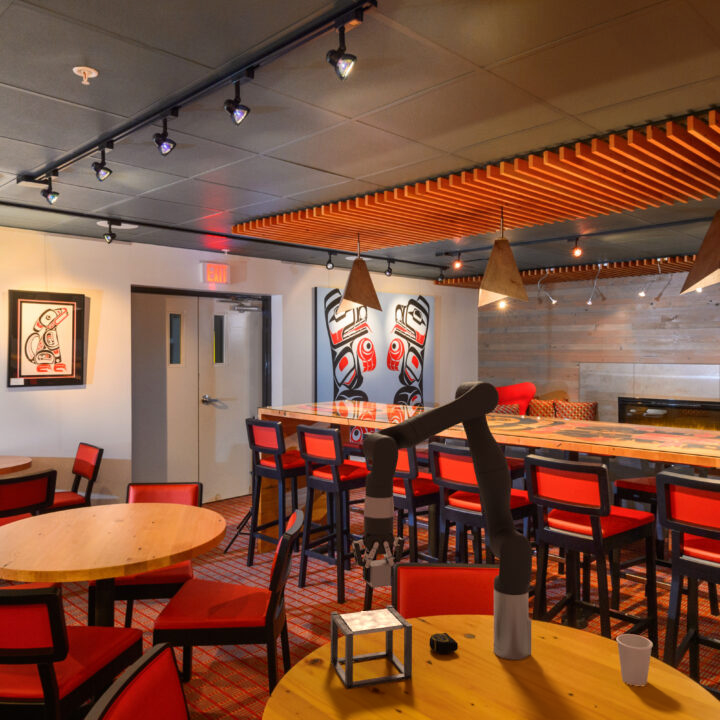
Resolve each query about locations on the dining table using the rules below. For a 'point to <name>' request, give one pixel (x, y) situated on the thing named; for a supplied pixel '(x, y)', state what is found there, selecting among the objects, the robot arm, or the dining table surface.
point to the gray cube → (380, 573)
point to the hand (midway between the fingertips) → (377, 580)
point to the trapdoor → (371, 621)
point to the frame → (349, 658)
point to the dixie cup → (634, 658)
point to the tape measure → (442, 643)
